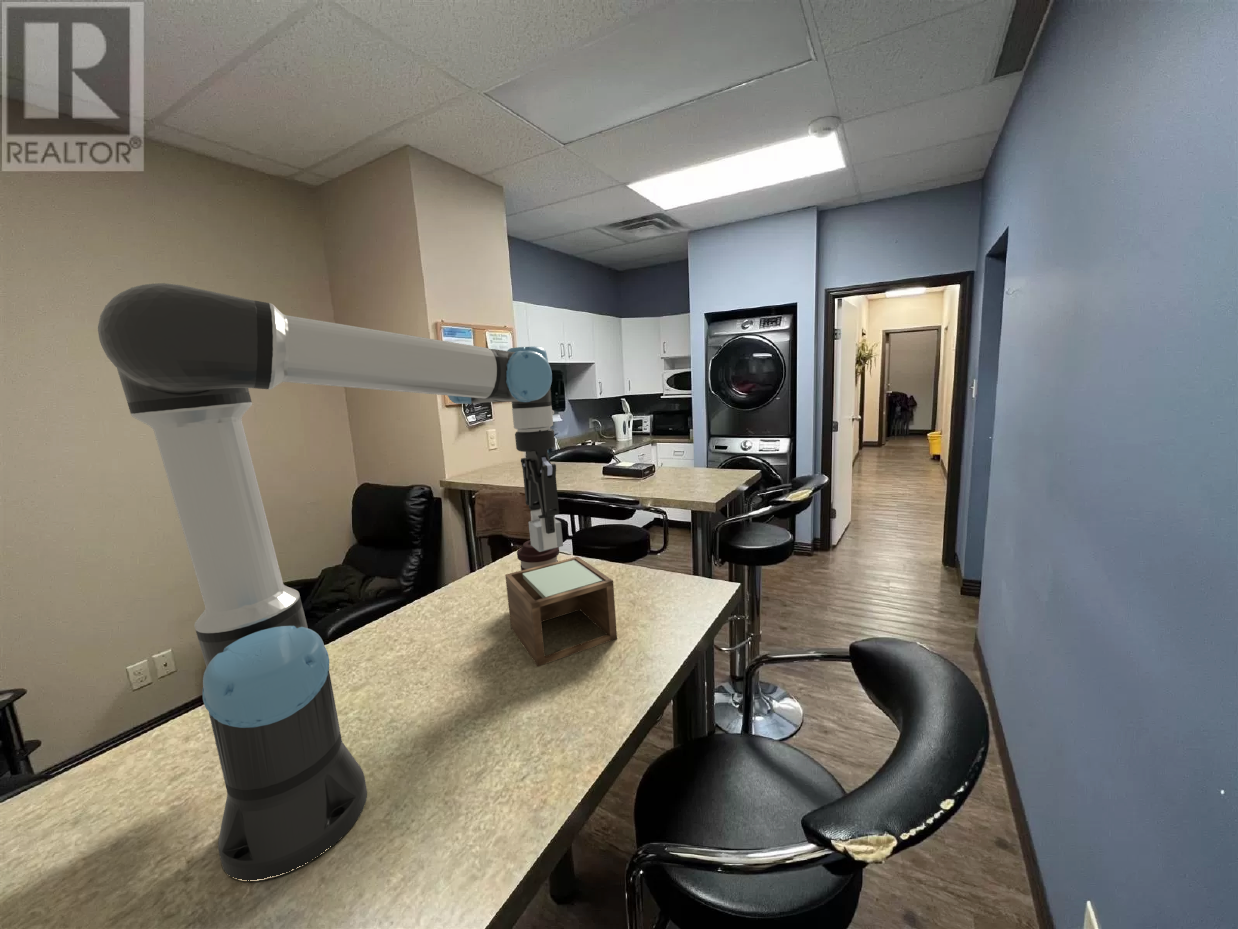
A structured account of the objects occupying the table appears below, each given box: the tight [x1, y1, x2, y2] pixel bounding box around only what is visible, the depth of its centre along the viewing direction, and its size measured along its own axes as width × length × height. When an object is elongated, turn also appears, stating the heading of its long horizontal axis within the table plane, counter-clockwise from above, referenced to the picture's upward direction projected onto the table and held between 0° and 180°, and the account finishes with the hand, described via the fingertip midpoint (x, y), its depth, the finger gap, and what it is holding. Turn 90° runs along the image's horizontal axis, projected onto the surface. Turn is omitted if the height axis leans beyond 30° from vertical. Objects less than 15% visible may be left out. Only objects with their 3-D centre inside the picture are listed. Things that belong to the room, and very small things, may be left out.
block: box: [528, 518, 564, 552], centre depth 96 cm, size 5×5×5 cm
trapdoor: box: [523, 560, 604, 598], centre depth 99 cm, size 12×14×1 cm
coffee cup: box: [516, 540, 560, 571], centre depth 115 cm, size 10×10×15 cm
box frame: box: [504, 556, 618, 667], centre depth 100 cm, size 17×17×12 cm
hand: (545, 543), depth 96 cm, fingers closed on block, 5 cm apart
